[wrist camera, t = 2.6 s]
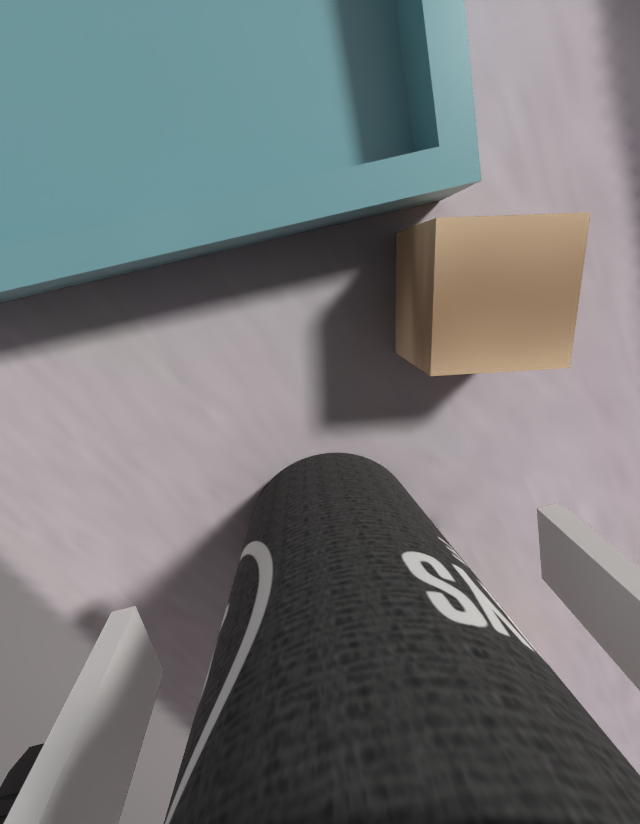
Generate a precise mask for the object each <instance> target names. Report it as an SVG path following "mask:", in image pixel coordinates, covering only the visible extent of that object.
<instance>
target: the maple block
mask: <svg viewBox="0 0 640 824" xmlns="http://www.w3.org/2000/svg"><path fill="white" fill-rule="evenodd" d="M589 221H590V213H562V214H534V215H506V216H477V217H449V218H435V219H432V220H430V221H427V222H424V223H422V224H419V225H417V226H414V227H411V228H409V229H406V230H404V231H401V232H398V233H396V313H395V353H396V354H398V355H399V356H401V357H402V358H404V359H405V360H407V361H408V362H410V363H411V364H413V365H414V366H416V367H417V368H419V369H420V370H422V371H423V372H425V373H426V374H428V375H429V376H442V375H459V374H476V373H492V372H509V371H525V370H542V369H558V368H570V362H571V354H572V347H573V340H574V332H575V325H576V317H577V310H578V302H579V295H580V288H581V280H582V273H583V265H584V258H585V250H586V243H587V235H588V228H589Z"/></svg>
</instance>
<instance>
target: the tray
mask: <svg viewBox="0 0 640 824" xmlns="http://www.w3.org/2000/svg"><path fill="white" fill-rule="evenodd" d="M479 181H481V171H480V161H479V150H478V139H477V129H476V118H475V107H474V97H473V86H472V75H471V64H470V54H469V43H468V32H467V22H466V11H465V0H0V302H5V301H9V300H13V299H17V298H22V297H26V296H30V295H35V294H39V293H43V292H48V291H52V290H56V289H61V288H65V287H69V286H73V285H78V284H82V283H86V282H91V281H95V280H99V279H104V278H108V277H112V276H117V275H121V274H125V273H129V272H134V271H138V270H142V269H147V268H151V267H155V266H160V265H164V264H168V263H173V262H177V261H181V260H186V259H190V258H194V257H198V256H203V255H207V254H211V253H216V252H220V251H224V250H229V249H233V248H237V247H242V246H246V245H250V244H254V243H259V242H263V241H267V240H272V239H276V238H280V237H285V236H289V235H293V234H298V233H302V232H306V231H310V230H315V229H319V228H323V227H328V226H332V225H336V224H341V223H345V222H349V221H354V220H358V219H362V218H367V217H371V216H375V215H379V214H384V213H388V212H392V211H397V210H401V209H405V208H410V207H414V206H418V205H423V204H427V203H431V202H435V201H440V200H443V199H445V198H447V197H449V196H451V195H453V194H455V193H457V192H459V191H461V190H463V189H465V188H467V187H469V186H471V185H473V184H475V183H477V182H479Z"/></svg>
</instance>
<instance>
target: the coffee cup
mask: <svg viewBox="0 0 640 824" xmlns="http://www.w3.org/2000/svg"><path fill="white" fill-rule="evenodd" d="M164 824H640V775H639V774H638V773H637V772H636V770H635V769H634V768H633V767H632V766H631V764H630V763H629V762H628V761H627V759H626V758H625V757H624V756H623V755H622V753H621V752H620V751H619V750H618V749H617V747H616V746H615V745H614V744H613V743H612V741H611V740H610V739H609V738H608V737H607V735H606V734H605V733H604V732H603V730H602V729H601V728H600V727H599V726H598V724H597V723H596V722H595V721H594V720H593V718H592V717H591V716H590V715H589V713H588V712H587V711H586V710H585V709H584V707H583V706H582V705H581V704H580V703H579V701H578V700H577V699H576V698H575V697H574V695H573V694H572V693H571V692H570V690H569V689H568V688H567V687H566V686H565V684H564V683H563V682H562V681H561V679H560V678H559V677H558V676H557V675H556V673H555V672H554V671H553V670H552V669H551V667H550V666H549V665H548V664H547V662H546V661H545V660H544V659H543V658H542V656H541V655H540V654H539V653H538V651H537V650H536V649H535V648H534V647H533V645H532V644H531V643H530V642H529V640H528V639H527V638H526V637H525V636H524V634H523V633H522V632H521V631H520V629H519V628H518V627H517V626H516V625H515V623H514V622H513V621H512V620H511V618H510V617H509V616H508V615H507V614H506V612H505V611H504V610H503V609H502V607H501V606H500V605H499V604H498V603H497V601H496V600H495V599H494V598H493V596H492V595H491V594H490V593H489V592H488V590H487V589H486V588H485V587H484V585H483V584H482V583H481V582H480V580H479V579H478V578H477V577H476V576H475V574H474V573H473V572H472V571H471V569H470V568H469V567H468V566H467V565H466V563H465V562H464V561H463V560H462V558H461V557H460V556H459V555H458V553H457V552H456V551H455V550H454V549H453V547H452V546H451V545H450V544H449V542H448V541H447V540H446V539H445V538H444V536H443V535H442V534H441V533H440V531H439V530H438V529H437V528H436V526H435V525H434V524H433V523H432V522H431V520H430V519H429V518H428V517H427V515H426V514H425V513H424V512H423V510H422V509H421V508H420V507H419V505H418V504H417V503H416V502H415V501H414V499H413V498H412V497H411V496H410V494H409V493H408V492H407V491H406V489H405V488H404V487H403V486H402V485H401V483H400V482H399V481H398V480H397V479H396V478H395V476H394V475H393V474H392V473H390V472H389V471H388V470H387V469H386V468H384V467H383V466H381V465H380V464H378V463H376V462H374V461H372V460H370V459H367V458H365V457H362V456H358V455H354V454H347V453H326V454H319V455H315V456H311V457H308V458H305V459H302V460H300V461H298V462H296V463H294V464H292V465H290V466H289V467H287V468H286V469H284V470H283V471H281V472H280V473H279V474H278V475H277V476H275V477H274V478H273V479H272V480H271V482H270V483H269V484H268V485H267V486H266V488H265V489H264V491H263V492H262V494H261V496H260V497H259V499H258V502H257V504H256V507H255V510H254V513H253V516H252V520H251V523H250V527H249V530H248V534H247V537H246V541H245V544H244V548H243V551H242V555H241V558H240V562H239V565H238V569H237V572H236V576H235V579H234V583H233V586H232V590H231V593H230V597H229V600H228V604H227V607H226V611H225V614H224V618H223V621H222V625H221V628H220V632H219V635H218V638H217V642H216V645H215V649H214V652H213V656H212V659H211V663H210V666H209V670H208V673H207V677H206V680H205V684H204V687H203V691H202V694H201V697H200V701H199V704H198V708H197V711H196V715H195V718H194V722H193V725H192V728H191V732H190V735H189V739H188V742H187V746H186V749H185V753H184V756H183V759H182V763H181V766H180V770H179V774H178V777H177V780H176V784H175V787H174V790H173V794H172V797H171V801H170V804H169V808H168V811H167V814H166V818H165V821H164Z"/></svg>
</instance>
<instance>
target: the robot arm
mask: <svg viewBox="0 0 640 824" xmlns="http://www.w3.org/2000/svg"><path fill="white" fill-rule="evenodd" d="M537 517H538V530H539V544H540V558H541V571H542V579H543V580H544V581H545V582H546V583H547V584H548V585H549V587H550V588H551V589H552V590H553V591H554V592H555V594H556V595H557V596H558V597H559V598H560V599H561V600H562V602H563V603H564V604H565V605H566V606H567V607H568V609H569V610H570V611H571V612H572V613H573V614H574V615H575V617H576V618H577V619H578V620H579V621H580V622H581V623H582V625H583V626H584V627H585V628H586V629H587V630H588V632H589V633H590V634H591V635H592V636H593V637H594V638H595V640H596V641H597V642H598V643H599V644H600V645H601V647H602V648H603V649H604V650H605V651H606V652H607V653H608V655H609V656H610V657H611V658H612V659H613V660H614V661H615V663H616V664H617V665H618V666H619V667H620V668H621V670H622V671H623V672H624V673H625V674H626V675H627V676H628V678H629V679H630V680H631V681H632V682H633V683H634V685H635V686H636V687H637V688H638V689H639V690H640V567H639V566H638V565H637V564H636V563H634V562H633V561H632V560H631V559H629V558H628V557H627V556H626V555H624V554H623V553H622V552H621V551H619V550H618V549H617V548H616V547H614V546H613V545H612V544H611V543H609V542H608V541H607V540H606V539H604V538H603V537H602V536H601V535H600V534H598V533H597V532H596V531H595V530H593V529H592V528H591V527H590V526H588V525H587V524H586V523H585V522H583V521H582V520H581V519H580V518H578V517H577V516H576V515H575V514H573V513H572V512H571V511H570V510H569V509H567V508H566V507H565V506H564V505H562V504H561V503H556V504H552V505H548V506H544V507H540V508H537ZM163 672H164V670H163V668H162V665H161V663H160V661H159V659H158V656H157V654H156V652H155V649H154V647H153V645H152V643H151V640H150V638H149V636H148V633H147V631H146V629H145V627H144V624H143V622H142V620H141V618H140V615H139V613H138V611H137V608H136V606H133V607H129V608H125V609H121V610H117V611H113V612H111V614H110V616H109V618H108V620H107V622H106V624H105V626H104V628H103V630H102V632H101V634H100V636H99V637H98V639H97V641H96V643H95V645H94V647H93V649H92V651H91V653H90V655H89V657H88V659H87V661H86V663H85V665H84V667H83V669H82V671H81V673H80V675H79V677H78V679H77V681H76V683H75V685H74V687H73V689H72V690H71V692H70V695H69V696H68V699H67V700H66V702H65V704H64V706H63V708H62V710H61V712H60V714H59V716H58V718H57V720H56V722H55V724H54V726H53V728H52V730H51V732H50V734H49V736H48V737H47V740H46V742H45V743H44V744H40V745H36V746H32V747H29V749H28V750H27V751H26V752H25V753H24V754H23V756H22V757H21V758H20V759H19V760H18V762H17V763H16V764H15V765H14V767H13V768H12V769H11V770H10V771H9V773H8V774H7V776H6V778H5V780H4V782H3V783H2V785H1V787H0V824H118V822H119V819H120V816H121V812H122V809H123V806H124V802H125V799H126V796H127V792H128V789H129V786H130V782H131V779H132V776H133V772H134V769H135V766H136V762H137V759H138V756H139V752H140V749H141V746H142V742H143V739H144V736H145V732H146V729H147V725H148V722H149V719H150V716H151V712H152V709H153V706H154V702H155V699H156V696H157V692H158V689H159V686H160V682H161V679H162V676H163Z"/></svg>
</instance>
